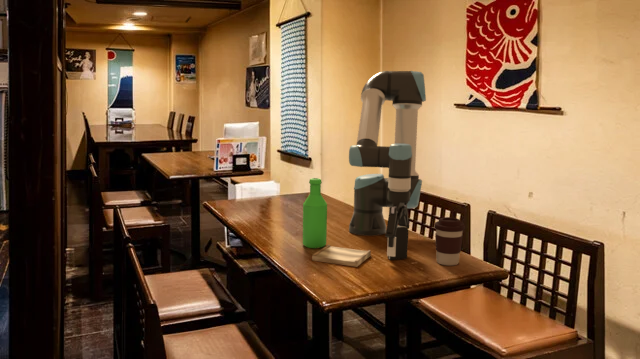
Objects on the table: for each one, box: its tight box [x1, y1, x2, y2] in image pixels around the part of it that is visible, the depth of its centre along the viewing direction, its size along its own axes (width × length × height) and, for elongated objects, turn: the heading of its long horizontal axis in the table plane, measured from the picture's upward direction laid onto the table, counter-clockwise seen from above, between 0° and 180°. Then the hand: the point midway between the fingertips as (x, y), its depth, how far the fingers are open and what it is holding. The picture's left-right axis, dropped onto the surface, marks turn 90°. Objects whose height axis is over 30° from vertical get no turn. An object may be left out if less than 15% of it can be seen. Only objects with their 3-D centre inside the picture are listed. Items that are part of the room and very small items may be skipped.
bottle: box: [302, 177, 328, 249], centre depth 210 cm, size 9×9×25 cm
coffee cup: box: [433, 216, 466, 267], centre depth 193 cm, size 10×10×15 cm
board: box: [311, 244, 372, 268], centre depth 197 cm, size 14×16×2 cm
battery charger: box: [386, 225, 409, 261], centre depth 197 cm, size 7×4×11 cm, turn 110°
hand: (396, 251), depth 198 cm, fingers open, 12 cm apart
